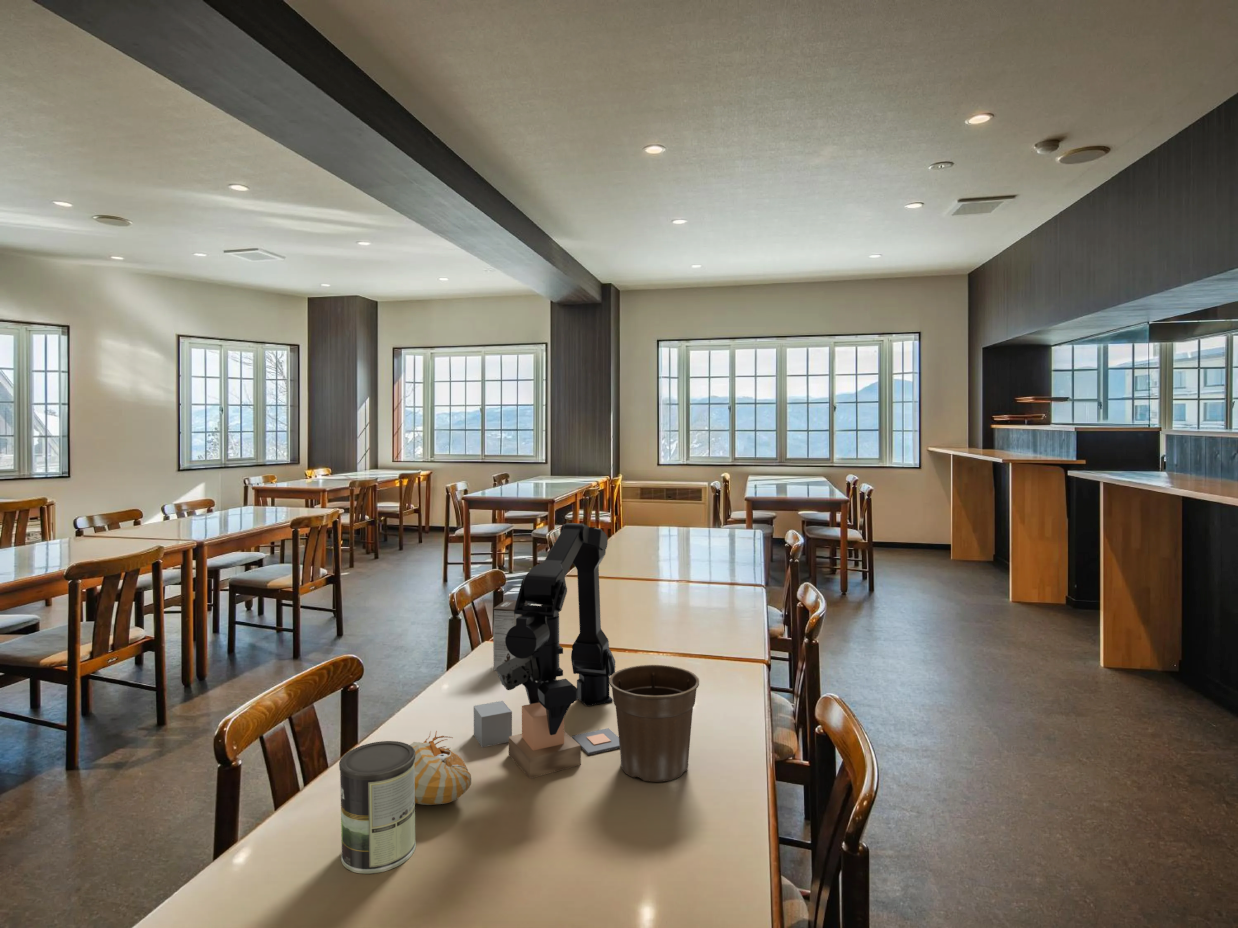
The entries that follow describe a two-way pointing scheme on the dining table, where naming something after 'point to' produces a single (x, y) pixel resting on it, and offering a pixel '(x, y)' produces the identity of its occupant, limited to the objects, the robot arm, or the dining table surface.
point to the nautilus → (438, 774)
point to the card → (597, 741)
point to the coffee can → (377, 806)
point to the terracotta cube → (539, 728)
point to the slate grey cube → (492, 723)
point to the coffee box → (503, 630)
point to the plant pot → (654, 719)
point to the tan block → (544, 756)
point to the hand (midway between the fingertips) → (543, 724)
